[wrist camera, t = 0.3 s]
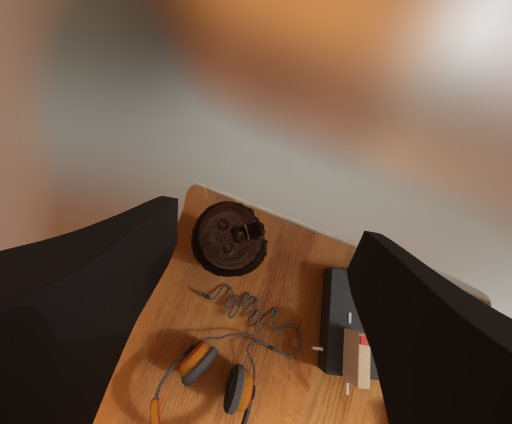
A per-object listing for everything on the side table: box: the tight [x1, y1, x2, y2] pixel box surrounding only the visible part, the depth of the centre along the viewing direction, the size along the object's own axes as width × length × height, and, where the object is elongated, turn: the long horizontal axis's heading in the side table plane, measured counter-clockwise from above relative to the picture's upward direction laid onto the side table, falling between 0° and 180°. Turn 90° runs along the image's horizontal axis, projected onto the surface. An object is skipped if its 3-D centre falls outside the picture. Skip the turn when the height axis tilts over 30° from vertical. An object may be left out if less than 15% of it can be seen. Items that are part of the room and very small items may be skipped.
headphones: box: [150, 285, 302, 424], centre depth 33 cm, size 17×5×20 cm
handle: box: [342, 328, 370, 389], centre depth 33 cm, size 6×2×4 cm, turn 172°
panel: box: [313, 268, 379, 395], centre depth 37 cm, size 16×11×3 cm
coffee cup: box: [191, 201, 268, 277], centre depth 33 cm, size 9×8×13 cm
